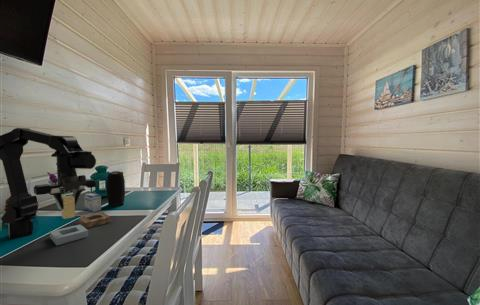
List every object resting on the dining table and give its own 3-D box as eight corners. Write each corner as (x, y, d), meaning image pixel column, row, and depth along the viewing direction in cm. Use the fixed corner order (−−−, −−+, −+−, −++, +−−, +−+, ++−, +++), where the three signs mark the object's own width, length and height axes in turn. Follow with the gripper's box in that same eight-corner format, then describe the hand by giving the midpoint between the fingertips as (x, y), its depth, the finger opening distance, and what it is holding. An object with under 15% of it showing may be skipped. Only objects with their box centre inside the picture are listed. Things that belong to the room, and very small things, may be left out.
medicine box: (84, 210, 122) (84, 194, 122) (93, 207, 126) (92, 192, 126) (93, 212, 119) (92, 196, 118) (101, 209, 123) (101, 194, 122)
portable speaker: (128, 204, 133) (127, 171, 132) (111, 208, 125) (110, 173, 124) (120, 202, 138) (119, 170, 137) (104, 205, 130) (103, 172, 129)
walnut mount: (86, 228, 97) (85, 222, 97) (78, 223, 103) (78, 217, 103) (110, 222, 104) (110, 216, 104) (102, 217, 111) (102, 212, 111)
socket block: (56, 245, 81) (56, 238, 81) (50, 237, 88) (49, 231, 87) (88, 236, 89) (88, 230, 89) (80, 229, 95) (80, 224, 95)
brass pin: (64, 219, 85) (63, 198, 85) (61, 217, 87) (60, 196, 87) (75, 216, 88) (74, 196, 87) (72, 214, 90) (71, 195, 90)
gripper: (38, 173, 74) (40, 219, 75) (101, 167, 89) (102, 206, 90) (32, 170, 81) (34, 212, 82) (91, 165, 96) (92, 201, 97)
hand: (68, 207), depth 88 cm, fingers closed on brass pin, 3 cm apart
